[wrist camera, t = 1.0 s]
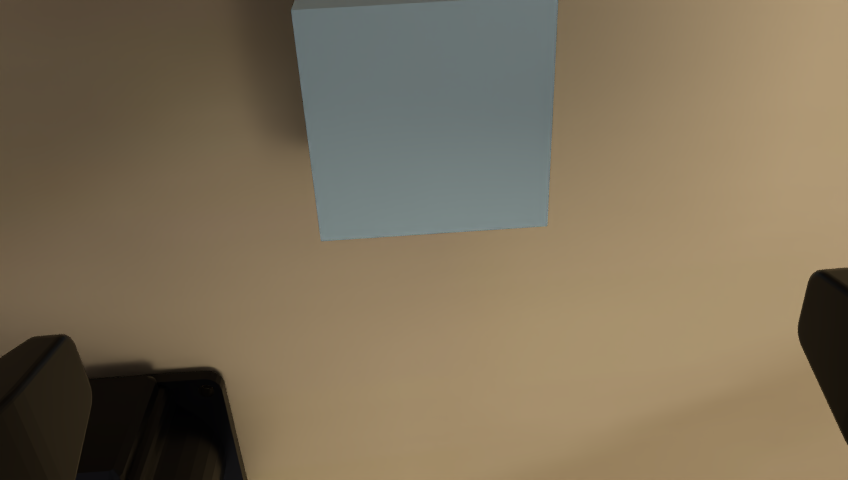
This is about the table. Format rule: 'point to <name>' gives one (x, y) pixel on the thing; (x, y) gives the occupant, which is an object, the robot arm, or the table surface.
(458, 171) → the cube
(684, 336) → the table surface
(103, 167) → the table surface
